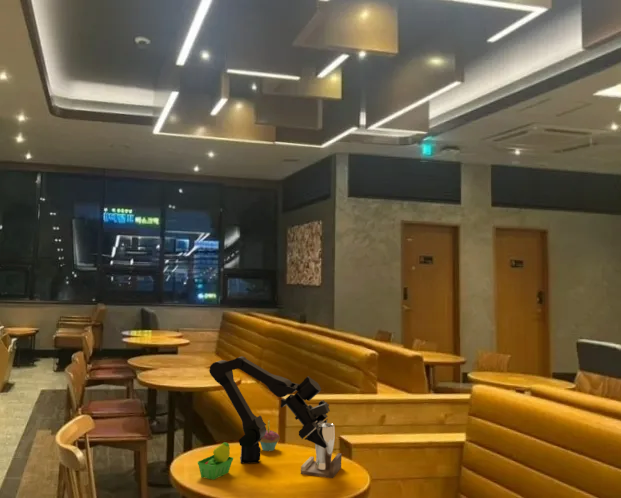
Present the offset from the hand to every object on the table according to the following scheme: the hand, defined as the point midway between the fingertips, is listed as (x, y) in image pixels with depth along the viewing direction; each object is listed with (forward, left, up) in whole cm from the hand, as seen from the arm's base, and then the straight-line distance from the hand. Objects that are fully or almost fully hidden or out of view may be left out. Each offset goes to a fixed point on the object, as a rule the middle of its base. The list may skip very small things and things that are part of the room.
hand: (329, 444), depth 221 cm
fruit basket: (-39, -3, -10) cm, 40 cm away
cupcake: (-19, +26, -10) cm, 34 cm away
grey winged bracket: (-2, +1, -10) cm, 10 cm away
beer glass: (-1, +1, -9) cm, 9 cm away
